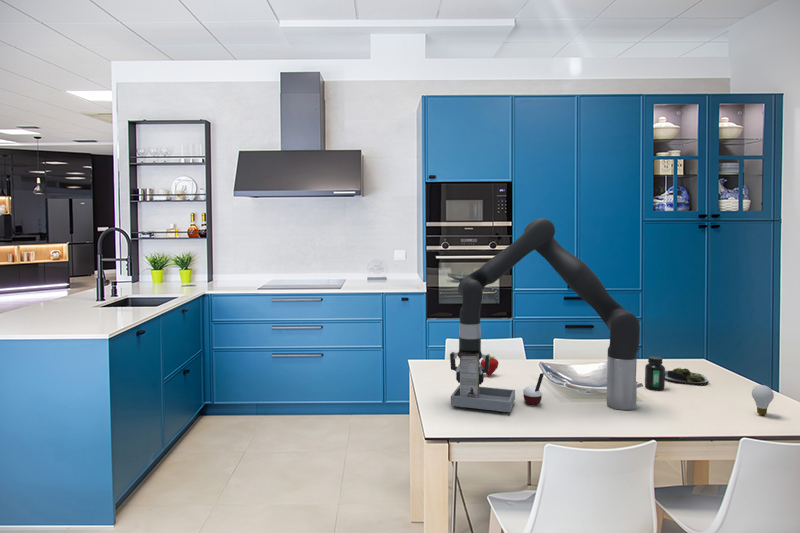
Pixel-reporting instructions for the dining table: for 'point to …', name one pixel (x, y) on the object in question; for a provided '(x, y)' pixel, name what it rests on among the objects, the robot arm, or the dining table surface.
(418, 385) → the dining table surface
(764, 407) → the light bulb
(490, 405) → the tray
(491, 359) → the strawberry
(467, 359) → the coffee box
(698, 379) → the salad plate
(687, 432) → the dining table surface
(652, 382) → the supplement bottle
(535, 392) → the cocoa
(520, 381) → the dining table surface
